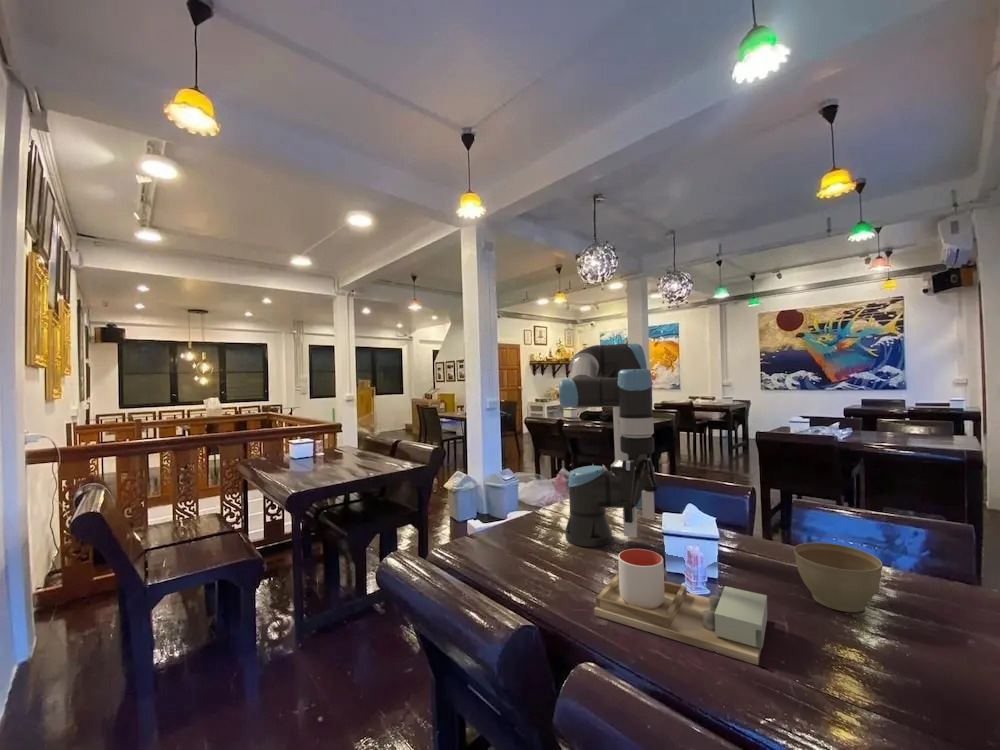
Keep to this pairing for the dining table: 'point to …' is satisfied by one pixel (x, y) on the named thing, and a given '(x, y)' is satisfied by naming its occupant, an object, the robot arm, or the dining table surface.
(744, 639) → the cover
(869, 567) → the planter bowl
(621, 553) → the cup
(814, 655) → the dining table surface
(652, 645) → the dining table surface
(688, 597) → the board
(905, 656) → the dining table surface
